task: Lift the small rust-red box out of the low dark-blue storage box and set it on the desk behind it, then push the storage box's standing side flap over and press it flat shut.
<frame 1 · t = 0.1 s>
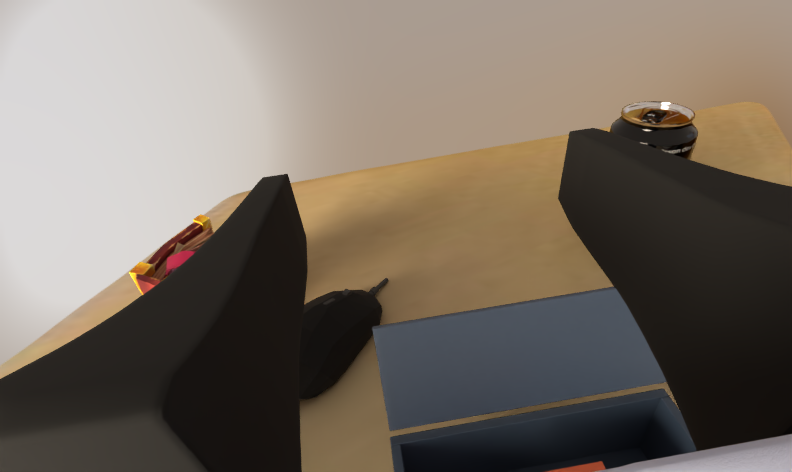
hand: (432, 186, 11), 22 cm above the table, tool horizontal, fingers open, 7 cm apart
beverage can: (627, 228, 44), on the table
gaming mouse: (338, 335, 36), on the table
book monster: (237, 326, 38), on the table
flap: (526, 355, 22), point 9 cm above the table, hinge at 110.0°
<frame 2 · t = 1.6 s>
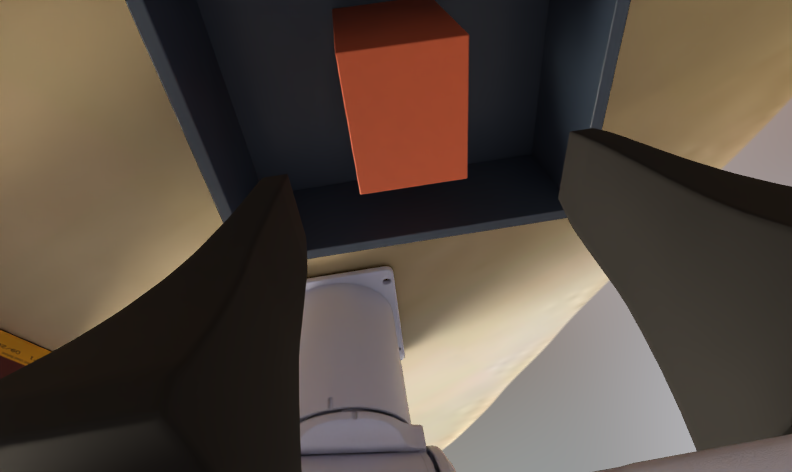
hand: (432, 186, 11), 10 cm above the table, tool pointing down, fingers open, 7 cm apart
small box: (388, 65, 19), resting on storage box
storage box: (386, 62, 19), on the table
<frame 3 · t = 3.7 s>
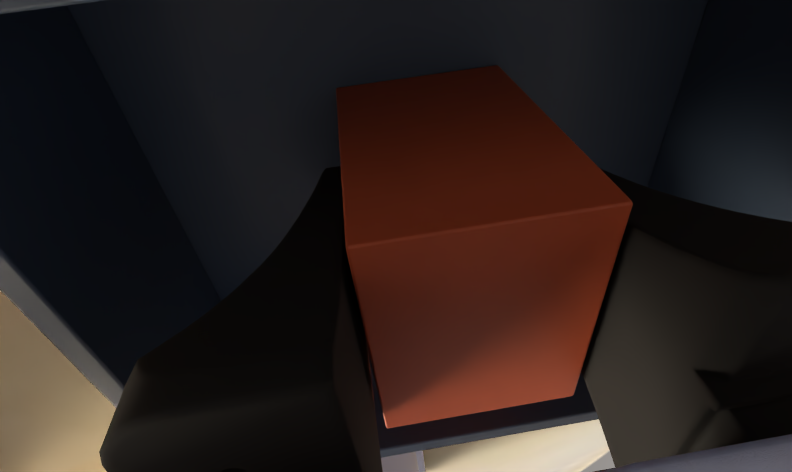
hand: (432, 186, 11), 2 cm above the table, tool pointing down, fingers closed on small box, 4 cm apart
small box: (423, 165, 12), resting on storage box, touching gripper
storage box: (421, 156, 12), on the table
when the fingers open (1 cm above the table, at t = 8.7 s): small box stays where it is, on the table.
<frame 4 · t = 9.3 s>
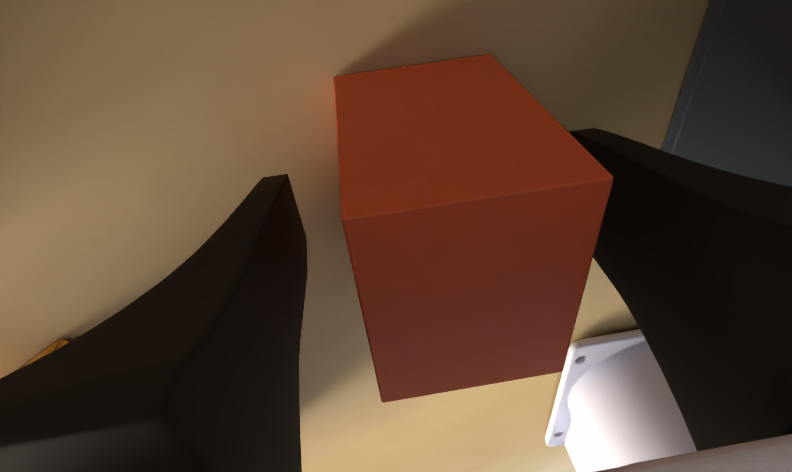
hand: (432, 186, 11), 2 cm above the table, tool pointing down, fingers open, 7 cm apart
small box: (418, 153, 12), on the table
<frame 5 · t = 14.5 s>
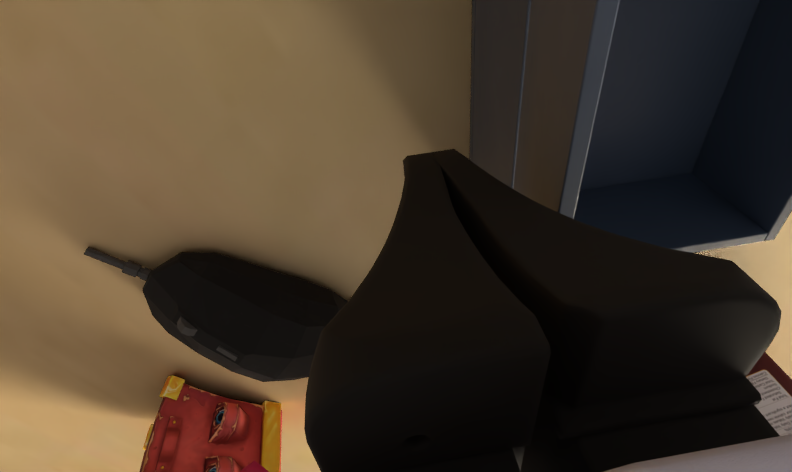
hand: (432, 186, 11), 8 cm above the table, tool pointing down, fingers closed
gaming mouse: (238, 293, 24), on the table
book monster: (237, 389, 30), on the table
storage box: (613, 40, 18), on the table
flap: (537, 176, 11), point 9 cm above the table, hinge at 104.0°, touching gripper
supplement box: (692, 392, 39), on the table
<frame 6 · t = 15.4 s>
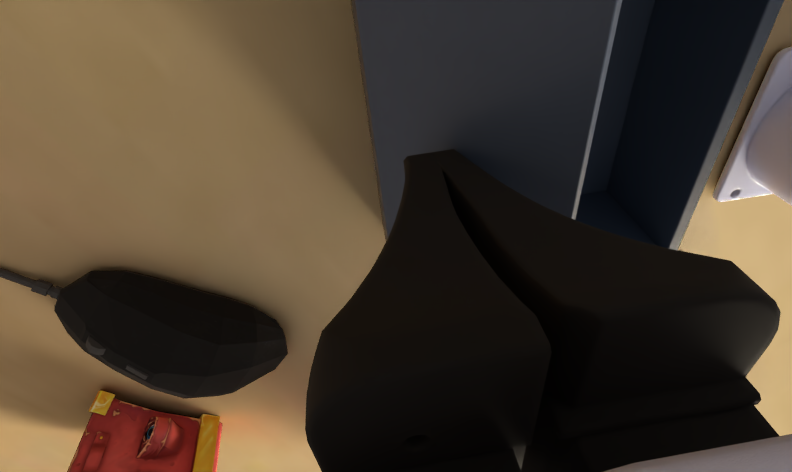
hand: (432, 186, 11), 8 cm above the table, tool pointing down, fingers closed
gaming mouse: (159, 310, 24), on the table
book monster: (173, 403, 30), on the table
storage box: (506, 61, 18), on the table
flap: (463, 180, 11), point 8 cm above the table, hinge at 46.9°, touching gripper
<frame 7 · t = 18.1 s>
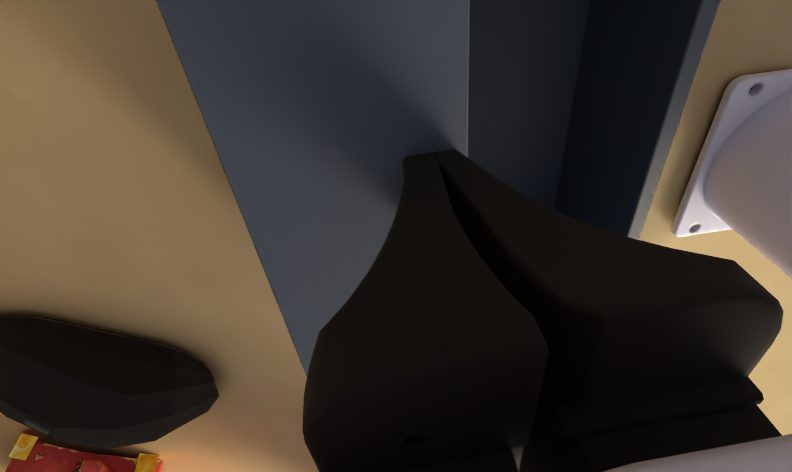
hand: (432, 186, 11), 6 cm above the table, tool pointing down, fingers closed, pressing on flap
gaming mouse: (75, 352, 22), on the table
book monster: (106, 442, 28), on the table
storage box: (426, 93, 16), on the table
flap: (355, 195, 11), point 6 cm above the table, hinge at 0.1°, touching gripper
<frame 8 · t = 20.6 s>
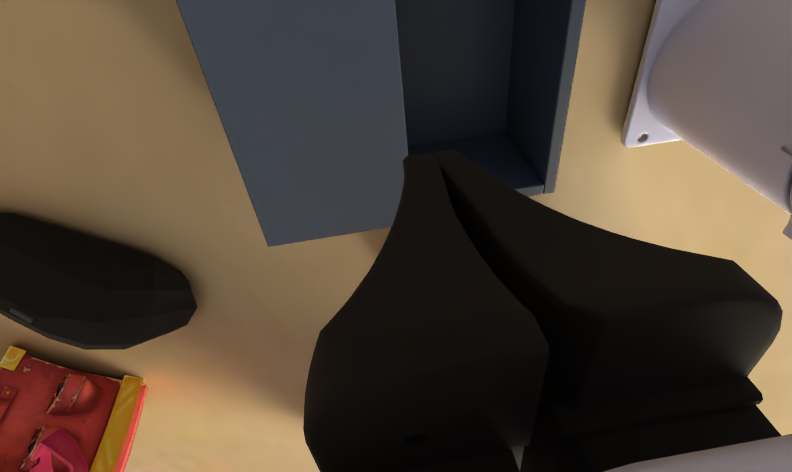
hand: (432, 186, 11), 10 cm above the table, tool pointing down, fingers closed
gaming mouse: (59, 259, 24), on the table
book monster: (92, 363, 29), on the table
flap: (296, 34, 13), point 6 cm above the table, hinge at -0.6°
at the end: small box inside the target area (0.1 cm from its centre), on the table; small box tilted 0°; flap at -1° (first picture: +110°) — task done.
